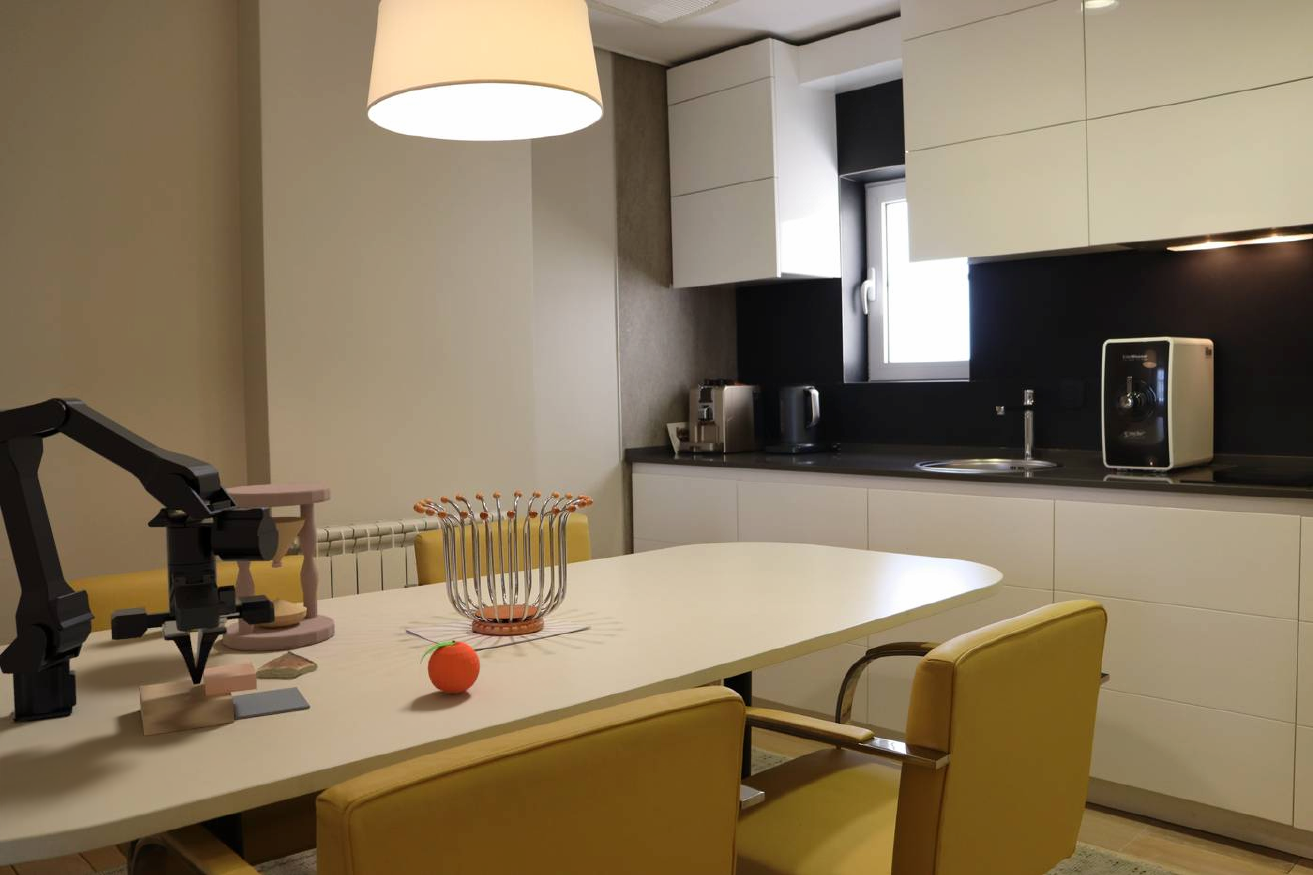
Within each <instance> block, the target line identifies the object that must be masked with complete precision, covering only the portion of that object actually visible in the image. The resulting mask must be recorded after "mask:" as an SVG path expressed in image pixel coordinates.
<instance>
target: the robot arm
mask: <svg viewBox="0 0 1313 875" xmlns="http://www.w3.org/2000/svg"><path fill="white" fill-rule="evenodd" d="M59 434H62V435H65V436H66V437H68V438H69V439H71V440H73V441H75V442H76V443H78V444H80V445H81V446H84V447H85V448H87V449H88V450H90V451H92V452H93V453H96V454H97V455H99V456H101V457H102V458H105V460H107V461H109V462H111V463H113V464H115V465H116V466H117V467H120V468H121V469H123V470H124V471H125V472H128V473H130V474H131V475H133V476H134V477H135V478H136V479H137V480H138V481H139V483H140V484H141V486H142V487H143V489H144V490H145V492H147V494H149V495H150V496H151V497H152V498H154V499H155V500H156V501H157V502H159V503H160V504H161V505H162V506H164V507H162V508H160V510H159V512H158V513H157V514H156V515H155V516H154V517H153V518H152V519H150V521H148V523H147V526H148V527H149V528H165V540H166V570H167V574H166V575H167V596H168V611H159V612H150V613H147V609H146V606H141V607H140V606H139V607H129V608H121V609H120V608H119V609H114V611H113V612H112V613H111V614H110V628H111V640H113V641H120V640H128V639H136V638H137V639H138V638H142V636H143V635H144V634H146V633H147V631H148V630H149V629H158V628H161V633H162V638H163V640H164V641H166V642H169V641H173V642H174V644H175V645H176V647H177V649H178V650H179V652H180V654H181V655H182V658H183V660H184V664H185V666H186V668H187V670H188V673H189V676H190V678H191V679H190V680H192V681H193V684H194V685H195V684H200V682H201V679H202V678H203V673H204V669H205V668H206V665H207V662H208V659H209V656H210V653H211V650H212V649H213V646H214V644H215V642H216V640H217V639H218V638H219V636H220V635H221V636H223V634H226V633H227V628H226V627H227V626H226V624H227V623H228V622H227V621H228V620H230V621H231V620H237V619H239V618H242V619H243V620H244V621H245V622H247V623H248V624H249V625H254V624H263V623H271V622H274V621H275V612H274V604H273V602H272V601H273V600H271V599H270V598H269V597H268V596H267V595H266V594H259V595H254V596H247V597H238V598H237V601H236V595H235V585H233V584H232V585H220V586H218V570H217V569H218V568H217V557H219V558H220V560H221V561H223V562H237V561H251V562H271V561H272V559H273V557H274V556H275V554H276V551H277V548H278V542H279V532H278V530H277V529H276V525H275V522H274V520H273V518H272V517H273V516H271V515H270V514H271V513H270V512H271V511H270V507H256V508H251V507H250V508H241V509H240V508H239V506H238V505H237V503H236V502H235V501H234V500H233V498H232V497H231V496H230V494H229V493H228V492H227V491H226V489H227V488H225V486H224V485H223V484H222V483H221V478H220V472H219V471H218V470H217V468H216V467H215V466H214V465H212V464H211V463H209V462H206V461H204V460H201V459H198V458H196V457H194V456H190V455H187V454H185V453H184V454H183V453H180V452H175V451H172V450H167V449H165V448H162V447H159V446H157V445H156V444H154V443H152V442H150V441H149V440H147V439H146V438H144V437H142V436H140V435H138V434H137V433H135V432H134V431H131V430H129V429H128V428H126V427H125V426H123V425H121V424H120V423H117V422H116V421H114V420H112V419H111V418H109V417H107V416H106V415H104V414H102V413H101V412H99V411H96V410H95V409H93V408H92V407H90V406H88V405H87V403H85V401H83V400H82V399H80V398H77V397H51V398H50V399H47V400H45V401H41V402H38V403H35V404H29V405H26V406H25V405H24V406H21V407H20V406H19V407H16V408H0V513H1V516H2V521H3V524H4V528H5V532H6V535H7V539H8V543H9V547H10V551H11V555H12V560H13V563H14V566H15V567H14V568H15V571H16V576H17V579H18V582H19V586H20V596H19V601H18V604H17V607H16V611H15V615H14V621H15V632H16V637H15V638H14V640H12V642H11V643H9V645H8V646H6V648H5V649H4V650H3V651H2V652H1V653H0V670H1V673H2V674H3V675H5V674H6V675H7V674H9V675H12V683H13V684H12V685H13V686H12V689H13V705H14V706H13V707H14V709H13V710H14V712H13V715H12V716H13V717H12V722H14V723H17V722H24V721H32V720H38V719H39V720H40V719H45V718H46V719H47V718H53V717H59V716H66V715H71V714H73V709H74V708H73V707H76V706H77V702H78V701H77V700H78V698H77V678H76V677H77V675H76V671H75V670H74V669H72V670H71V662H70V661H71V660H72V659H75V658H76V659H77V658H78V657H79V656H80V653H81V651H82V647H83V644H84V643H85V642H86V641H87V639H88V638H89V636H90V634H92V620H95V618H96V617H95V615H94V614H93V612H92V610H91V608H90V602H89V601H90V600H89V593H88V592H87V590H86V588H85V589H84V588H83V589H81V590H78V591H75V590H74V589H73V588H72V586H70V584H68V583H67V581H66V579H65V578H64V573H63V568H62V564H61V561H60V557H59V554H58V549H57V545H56V541H55V538H54V533H53V530H52V526H51V522H50V518H49V514H48V511H47V506H46V503H45V498H44V495H43V491H42V487H41V482H40V478H39V473H38V472H39V468H40V464H41V461H42V458H43V454H44V443H43V441H44V439H47V438H50V437H54V436H57V435H59ZM179 511H181V512H179ZM194 629H198V631H197V632H198V633H197V634H198V635H197V642H196V643H197V644H196V656H194V652H193V645H192V637H191V634H190V632H189V631H191V630H194ZM191 632H192V631H191Z"/></svg>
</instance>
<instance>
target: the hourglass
mask: <svg viewBox="0 0 1313 875" xmlns="http://www.w3.org/2000/svg"><path fill="white" fill-rule="evenodd" d="M225 489H226V491H227V492H228V493H229V494H230V496H231V497H232V498H233V500H234V501H235V502H236V503H237V505H238V506H239V508H240V509H241V508H256V507H269V508H277V507H278V508H279V507H280V508H281V507H291V506H292V507H293V506H299V513H300V515H299V516H271V517H272V518H273V520H274V522H275V525H276V529H277V530H278V532H279V542H278V548H277V551H276V554H275V556H274V557H273V559H272V560H271V561H272V562H271V568H273V569H274V568H275V569H278V568H283V562H282V560H283V558H284V557H285V555H286V554H287V552H288V550H289V549H290V548H291V546H292V545H293V543H294V542H295V540H296V539H297V537H298V540H299V544H300V549H301V551H302V554H303V560H302V564H301V570H300V573H299V577H300V585H301V590H302V604H303V605H301V604H297V603H294V602H291V601H287V600H284V599H281V598H276V599H274V600H271V601H272V602H273V604H274V612H275V621H274V622H271V623H263V624H254V625H249V624H248V623H247V622H245V621H244V620H243V619H242V618H239V619H238V621H237V622H233V623H231V624H229V625H227V626H225V627H226V628H227V633H226V634H222V644H223V645H224V646H225V647H227V648H230V649H233V650H239V651H255V652H256V651H257V652H262V651H280V650H287V649H296V648H301V647H302V648H303V647H305V646H310V645H315V644H319V643H321V642H324V641H327V640H329V639H330V638H331V637H333V636H335V633H336V631H335V626H336V625H335V622H334V619H333V618H331V617H329V616H327V615H320V614H318V589H319V588H318V586H319V571H318V568H317V564H316V562H315V558H314V556H315V552H316V549H317V548H316V546H317V543H318V532H317V527H316V523H315V521H316V520H315V504H318V503H323V502H326V501H329V500H330V499H331V488H330V486H329V485H327V484H322V483H309V482H308V483H307V482H305V483H301V482H300V483H296V482H295V483H271V484H270V483H269V484H255V485H241V486H234V487H227V488H225ZM251 562H252V561H236V564H237V567H238V573H237V578H236V581H235V585H234V587H235V595H236V602H237V598H238V597H247V596H256V595H255V594H256V593H255V592H256V591H255V590H256V586H255V582H254V579H253V576H252V573H251V570H250V566H251V564H252V563H251Z"/></svg>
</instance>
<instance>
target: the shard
mask: <svg viewBox="0 0 1313 875" xmlns="http://www.w3.org/2000/svg"><path fill="white" fill-rule="evenodd" d="M317 669H318V663H316V662H314V661H312V660H311V659H310V660H309V659H308V658H307V657H304V656H302V655H300V654H295V653H294V652H291V651H290V650H288V651H287V652H286V653H284V654H282V655H280V656H278V657H276V658H274V659H272V660H270V661H268V662H267V663H265V664H263V665H262V666H260V667H259V668H257V669H256V678H291V679H292V678H295V677H297V676H300V675H303V674H307V673H310V672H314V671H317Z"/></svg>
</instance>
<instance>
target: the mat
mask: <svg viewBox="0 0 1313 875" xmlns="http://www.w3.org/2000/svg"><path fill="white" fill-rule="evenodd" d="M232 697H233V707H234V720H241V719H246V718H247V719H248V718H254V717H261V716H268V715H273V714H279V713H287V712H294V711H299V710H306V709H310V708H311V705H310V703H309V702H308V701H307V699H306V698H305V696H304V695H303V694H302V692H301V691H300V690H299V688H298V687H297V686H294V687H288V688H279V689H274V690H266V691H259V692H254V693H253V692H251V693H245V694H238V695H237V694H236V695H232Z"/></svg>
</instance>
